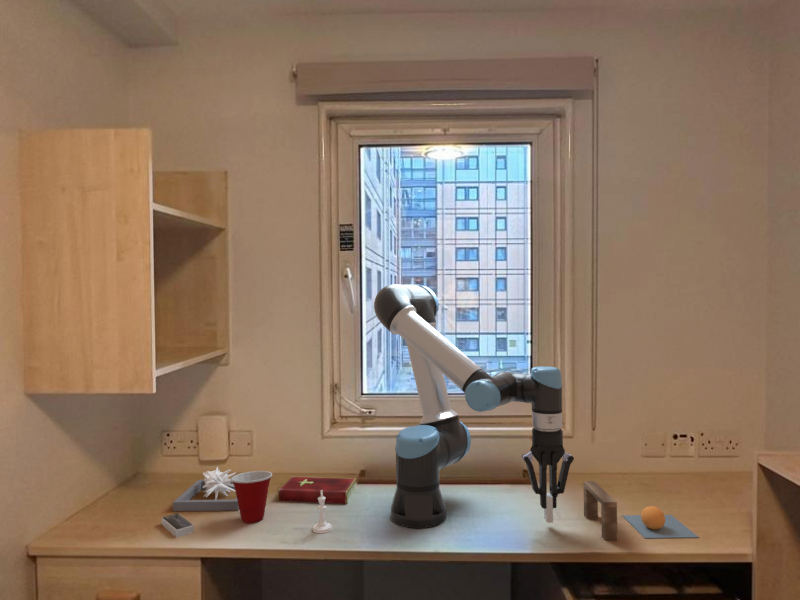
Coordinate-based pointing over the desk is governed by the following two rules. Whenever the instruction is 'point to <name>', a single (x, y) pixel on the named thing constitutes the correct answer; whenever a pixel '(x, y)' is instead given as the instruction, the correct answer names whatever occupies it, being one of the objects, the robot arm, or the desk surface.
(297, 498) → the hardcover book
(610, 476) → the desk surface
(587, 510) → the bridge
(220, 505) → the ball rest frame
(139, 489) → the desk surface
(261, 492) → the plastic cup
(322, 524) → the chess piece
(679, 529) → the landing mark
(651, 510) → the ball
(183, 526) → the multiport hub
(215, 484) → the spiky ball
